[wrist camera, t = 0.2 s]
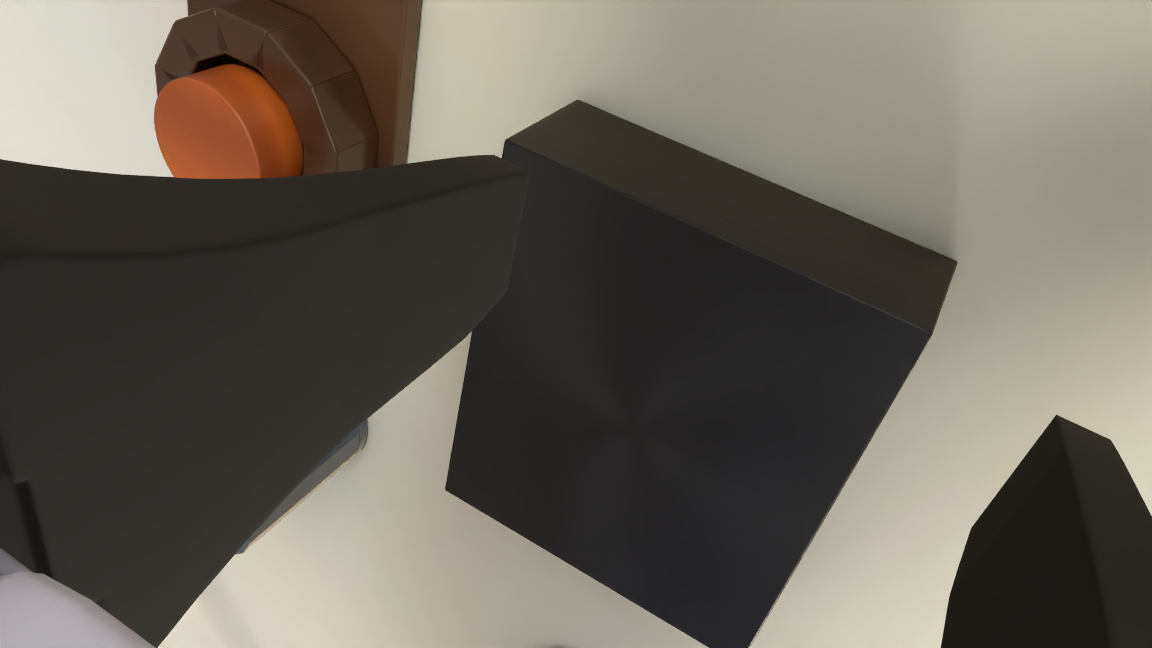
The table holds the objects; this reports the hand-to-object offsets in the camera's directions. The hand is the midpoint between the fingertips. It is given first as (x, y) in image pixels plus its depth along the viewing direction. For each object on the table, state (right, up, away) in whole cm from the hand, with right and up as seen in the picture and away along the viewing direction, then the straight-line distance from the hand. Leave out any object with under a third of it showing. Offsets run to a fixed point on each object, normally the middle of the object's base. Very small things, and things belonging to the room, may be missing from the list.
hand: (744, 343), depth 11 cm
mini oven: (+1, -1, +13) cm, 13 cm away
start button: (-12, +6, +14) cm, 19 cm away
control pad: (-11, +7, +16) cm, 20 cm away
